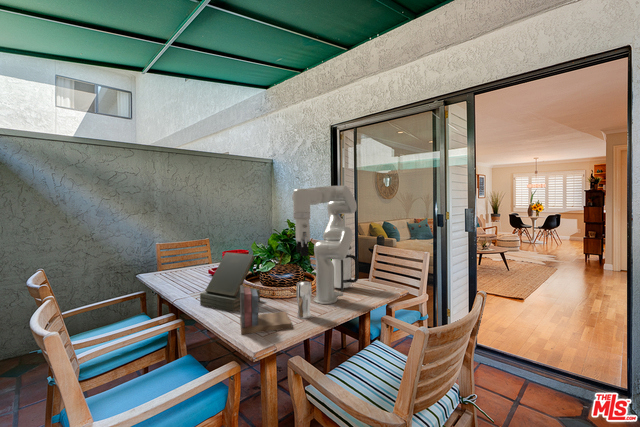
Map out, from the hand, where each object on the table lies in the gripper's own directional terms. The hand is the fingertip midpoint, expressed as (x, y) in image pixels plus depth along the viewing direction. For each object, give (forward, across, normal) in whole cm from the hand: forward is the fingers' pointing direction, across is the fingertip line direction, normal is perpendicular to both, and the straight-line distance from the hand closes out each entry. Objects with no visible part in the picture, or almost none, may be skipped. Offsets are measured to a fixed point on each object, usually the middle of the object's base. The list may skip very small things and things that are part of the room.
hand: (302, 254), depth 134 cm
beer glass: (+28, 0, 0) cm, 29 cm away
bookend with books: (+28, -5, +18) cm, 34 cm away
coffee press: (+29, +36, -33) cm, 57 cm away
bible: (+29, +29, +32) cm, 52 cm away
